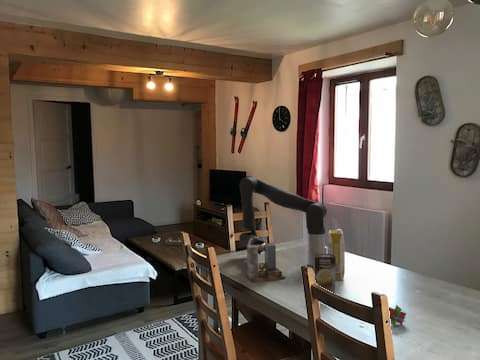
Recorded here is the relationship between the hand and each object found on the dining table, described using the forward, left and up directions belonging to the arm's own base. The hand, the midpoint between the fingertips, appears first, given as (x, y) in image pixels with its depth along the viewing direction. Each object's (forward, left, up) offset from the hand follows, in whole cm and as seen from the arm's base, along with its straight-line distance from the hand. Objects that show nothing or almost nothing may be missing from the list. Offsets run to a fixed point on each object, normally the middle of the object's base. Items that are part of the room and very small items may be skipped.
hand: (266, 252), depth 204 cm
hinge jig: (+3, +6, -11) cm, 12 cm away
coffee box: (-16, +33, -11) cm, 38 cm away
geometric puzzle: (-25, +71, -11) cm, 76 cm away
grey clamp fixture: (+2, +7, -10) cm, 12 cm away
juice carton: (-29, +19, -11) cm, 36 cm away
